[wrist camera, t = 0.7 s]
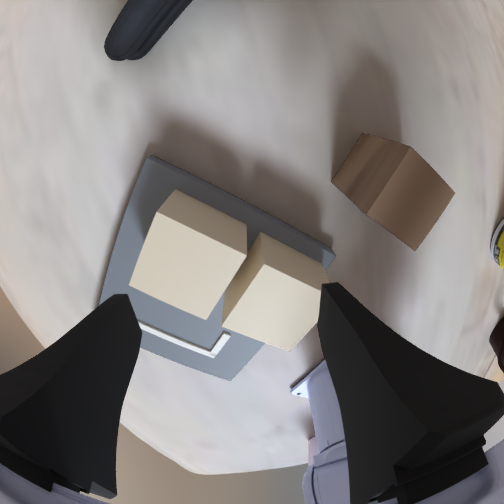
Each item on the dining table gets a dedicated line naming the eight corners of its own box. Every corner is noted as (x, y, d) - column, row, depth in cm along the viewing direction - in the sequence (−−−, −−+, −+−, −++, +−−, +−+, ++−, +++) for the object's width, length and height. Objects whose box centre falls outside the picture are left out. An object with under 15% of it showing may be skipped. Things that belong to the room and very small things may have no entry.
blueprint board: (332, 249, 20) (354, 289, 15) (231, 373, 26) (229, 415, 22) (151, 155, 16) (120, 172, 12) (98, 318, 23) (78, 356, 18)
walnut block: (403, 166, 17) (455, 193, 12) (373, 211, 19) (415, 251, 13) (362, 132, 16) (410, 146, 11) (330, 181, 18) (365, 214, 12)
